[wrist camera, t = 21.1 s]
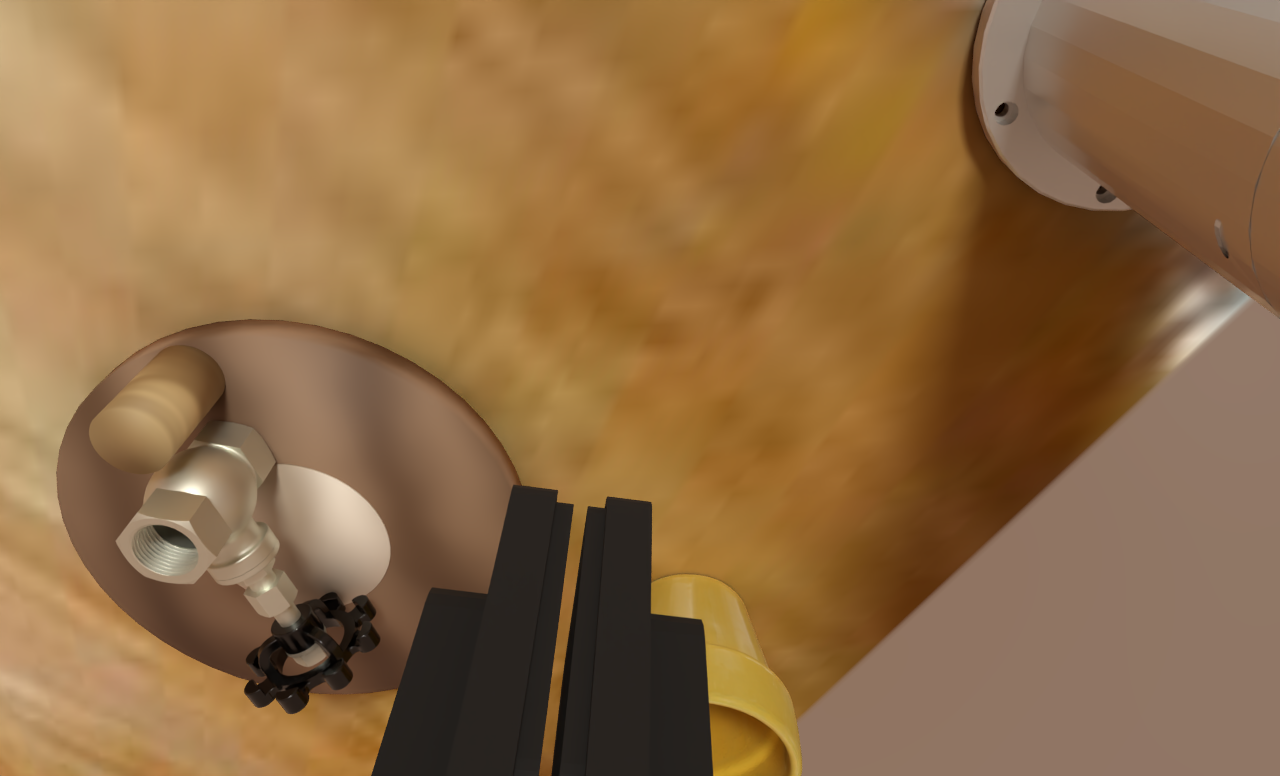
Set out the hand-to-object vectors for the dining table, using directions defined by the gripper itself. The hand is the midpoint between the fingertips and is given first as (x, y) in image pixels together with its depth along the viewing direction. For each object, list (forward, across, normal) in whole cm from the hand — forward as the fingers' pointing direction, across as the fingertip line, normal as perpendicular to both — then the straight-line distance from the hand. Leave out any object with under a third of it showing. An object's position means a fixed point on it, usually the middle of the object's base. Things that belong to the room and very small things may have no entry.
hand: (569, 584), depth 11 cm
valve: (+24, +14, +21) cm, 35 cm away
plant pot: (+27, -7, +28) cm, 39 cm away
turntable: (+26, +13, +23) cm, 37 cm away
